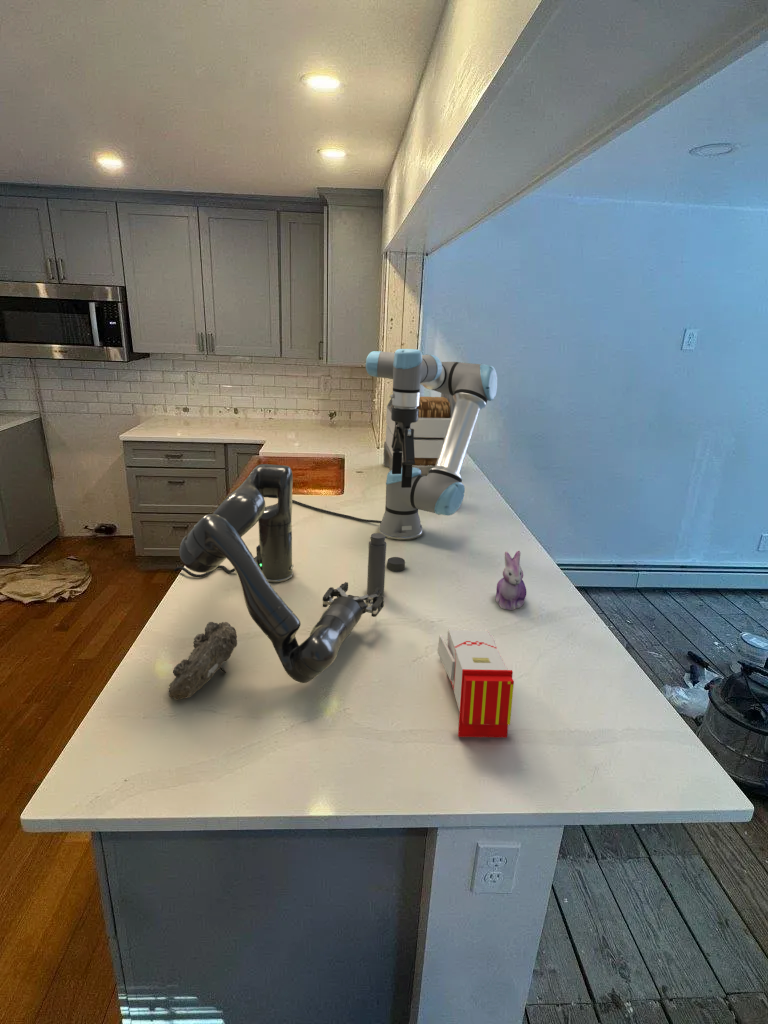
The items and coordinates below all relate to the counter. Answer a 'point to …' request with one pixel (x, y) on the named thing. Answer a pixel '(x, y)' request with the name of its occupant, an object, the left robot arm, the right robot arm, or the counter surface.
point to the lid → (396, 564)
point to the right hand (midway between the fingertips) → (401, 480)
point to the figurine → (511, 584)
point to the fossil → (203, 659)
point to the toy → (478, 682)
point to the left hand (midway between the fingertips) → (362, 588)
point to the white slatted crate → (423, 429)
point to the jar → (376, 563)
